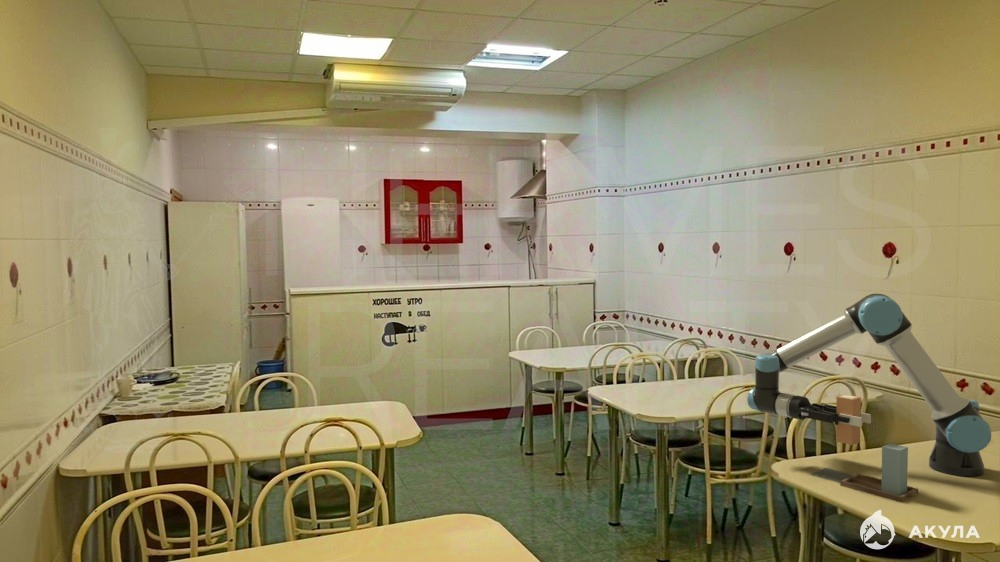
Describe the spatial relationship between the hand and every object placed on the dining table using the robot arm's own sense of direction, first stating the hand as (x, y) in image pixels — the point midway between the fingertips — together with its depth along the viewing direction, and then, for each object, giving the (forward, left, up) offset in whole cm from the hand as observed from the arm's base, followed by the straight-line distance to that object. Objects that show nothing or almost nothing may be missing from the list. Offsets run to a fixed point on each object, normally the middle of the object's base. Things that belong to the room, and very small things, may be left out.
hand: (865, 420), depth 213 cm
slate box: (+1, +9, -20) cm, 22 cm away
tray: (+1, +4, -20) cm, 21 cm away
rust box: (0, -5, -8) cm, 9 cm away
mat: (-1, -11, -20) cm, 23 cm away
